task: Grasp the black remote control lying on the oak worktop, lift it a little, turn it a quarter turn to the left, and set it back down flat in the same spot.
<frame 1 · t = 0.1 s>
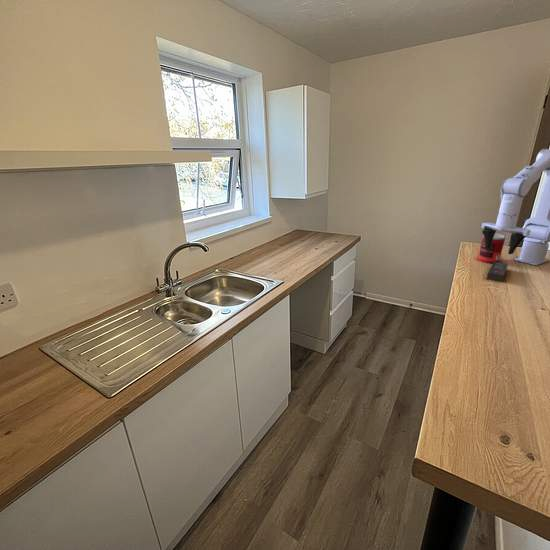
hand: (499, 250, 110), 10 cm above the table, tool pointing down, fingers open, 7 cm apart
canned food: (488, 260, 129), on the table
remote: (499, 268, 120), on the table
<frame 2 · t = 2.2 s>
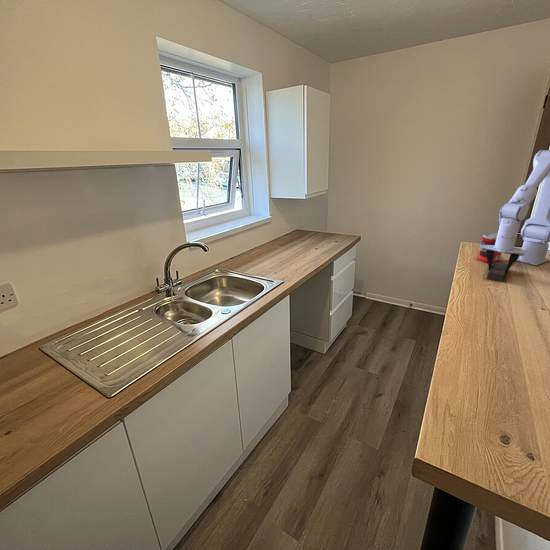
hand: (497, 271, 115), 1 cm above the table, tool pointing down, fingers closed on remote, 4 cm apart
remote: (499, 268, 120), on the table, touching gripper
everything else where it was.
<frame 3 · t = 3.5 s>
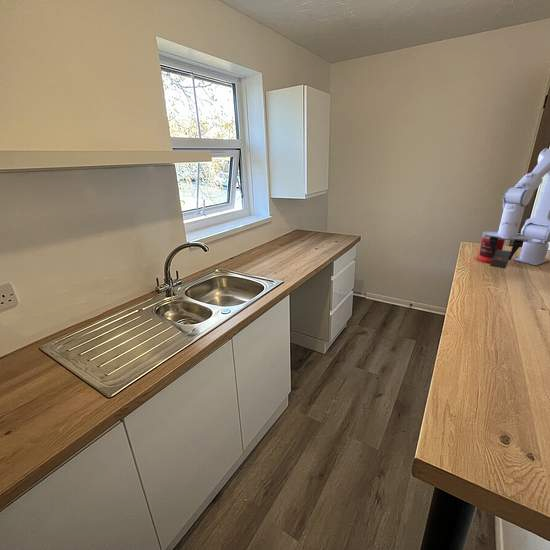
hand: (501, 258, 113), 7 cm above the table, tool pointing down, fingers closed on remote, 4 cm apart
remote: (502, 256, 118), point 5 cm above the table, touching gripper
everything else where it was.
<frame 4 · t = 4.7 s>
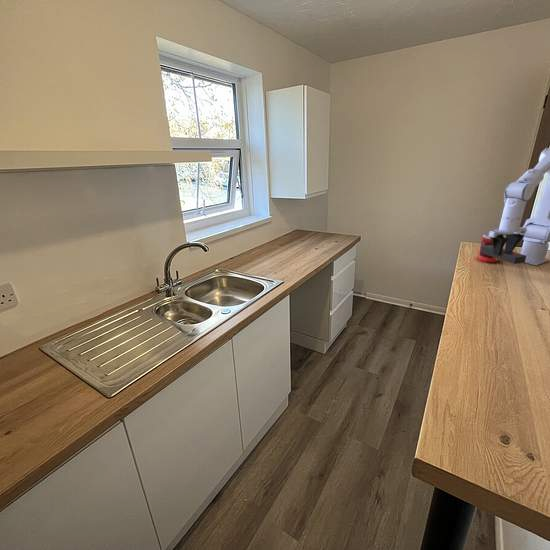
hand: (502, 253, 112), 8 cm above the table, tool pointing down, fingers closed on remote, 4 cm apart
remote: (485, 251, 119), point 7 cm above the table, touching gripper
everything else where it was.
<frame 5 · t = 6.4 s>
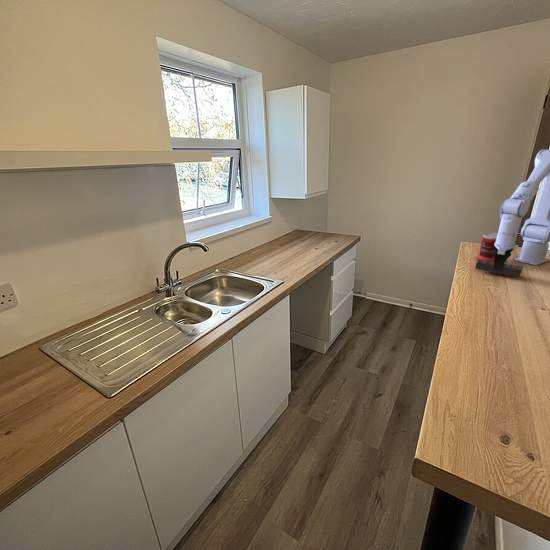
hand: (498, 267, 114), 3 cm above the table, tool pointing down, fingers closed on remote, 4 cm apart
remote: (476, 267, 119), point 1 cm above the table, touching gripper
everything else where it was.
when the fingers open (1 cm above the table, at t = 7.4 s): remote stays where it is, on the table.
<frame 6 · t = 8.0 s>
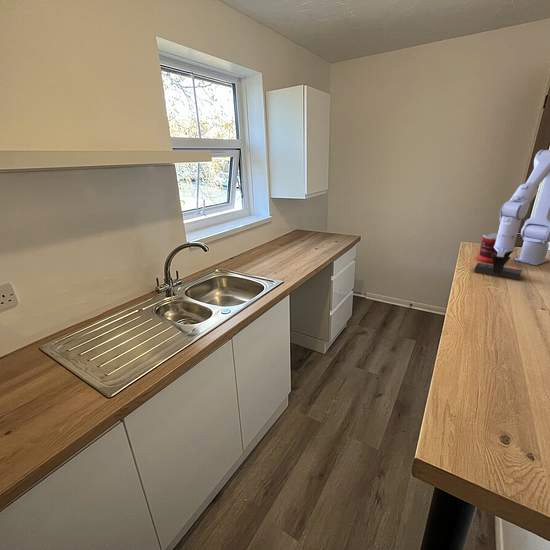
hand: (498, 269, 114), 2 cm above the table, tool pointing down, fingers open, 7 cm apart
remote: (475, 270, 119), on the table
everything else where it was.
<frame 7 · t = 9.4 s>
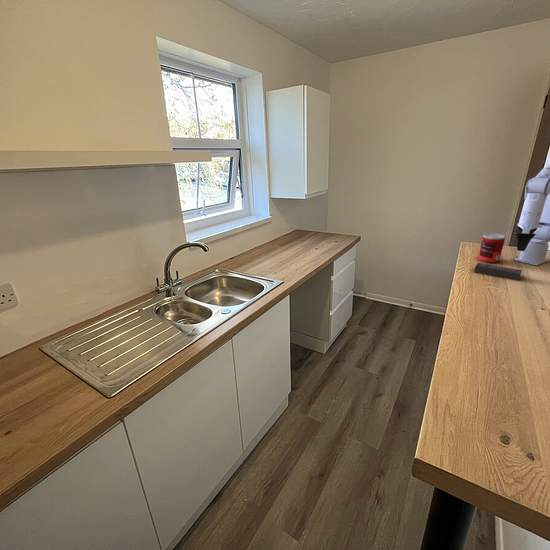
hand: (521, 248, 114), 9 cm above the table, tool pointing down, fingers open, 7 cm apart
nothing on the table moved.
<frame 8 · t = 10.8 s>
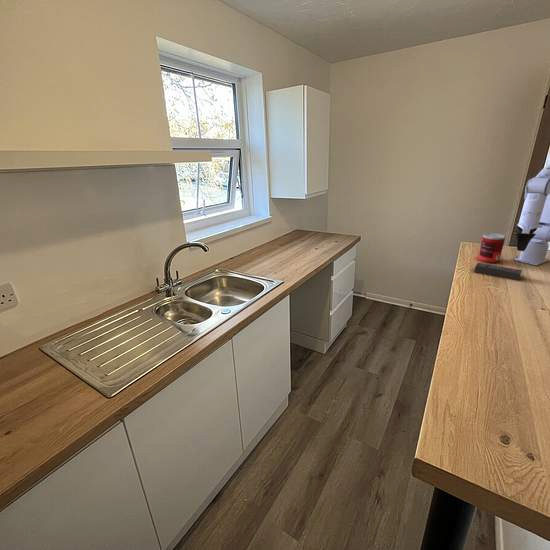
hand: (521, 248, 114), 9 cm above the table, tool pointing down, fingers open, 7 cm apart
nothing on the table moved.
at the end: remote 0.1 cm from the target spot, on the table; remote tilted 0°; the gripper is holding nothing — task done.
